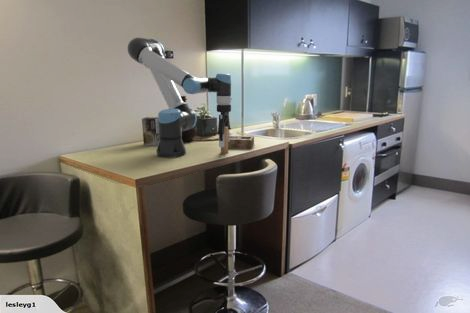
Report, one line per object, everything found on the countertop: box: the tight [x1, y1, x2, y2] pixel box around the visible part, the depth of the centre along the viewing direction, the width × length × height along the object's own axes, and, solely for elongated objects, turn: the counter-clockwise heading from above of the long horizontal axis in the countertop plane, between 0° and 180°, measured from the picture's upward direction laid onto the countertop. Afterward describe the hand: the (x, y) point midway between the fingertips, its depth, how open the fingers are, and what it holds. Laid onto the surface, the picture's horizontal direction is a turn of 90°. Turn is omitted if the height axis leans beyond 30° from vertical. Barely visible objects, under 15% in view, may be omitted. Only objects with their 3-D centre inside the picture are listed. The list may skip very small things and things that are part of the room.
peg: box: [220, 126, 229, 155], centre depth 183 cm, size 4×4×14 cm
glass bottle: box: [180, 95, 198, 143], centre depth 215 cm, size 18×18×28 cm
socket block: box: [228, 134, 255, 150], centre depth 201 cm, size 16×12×5 cm
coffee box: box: [141, 116, 159, 147], centre depth 205 cm, size 9×6×16 cm
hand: (224, 144), depth 184 cm, fingers open, 13 cm apart
